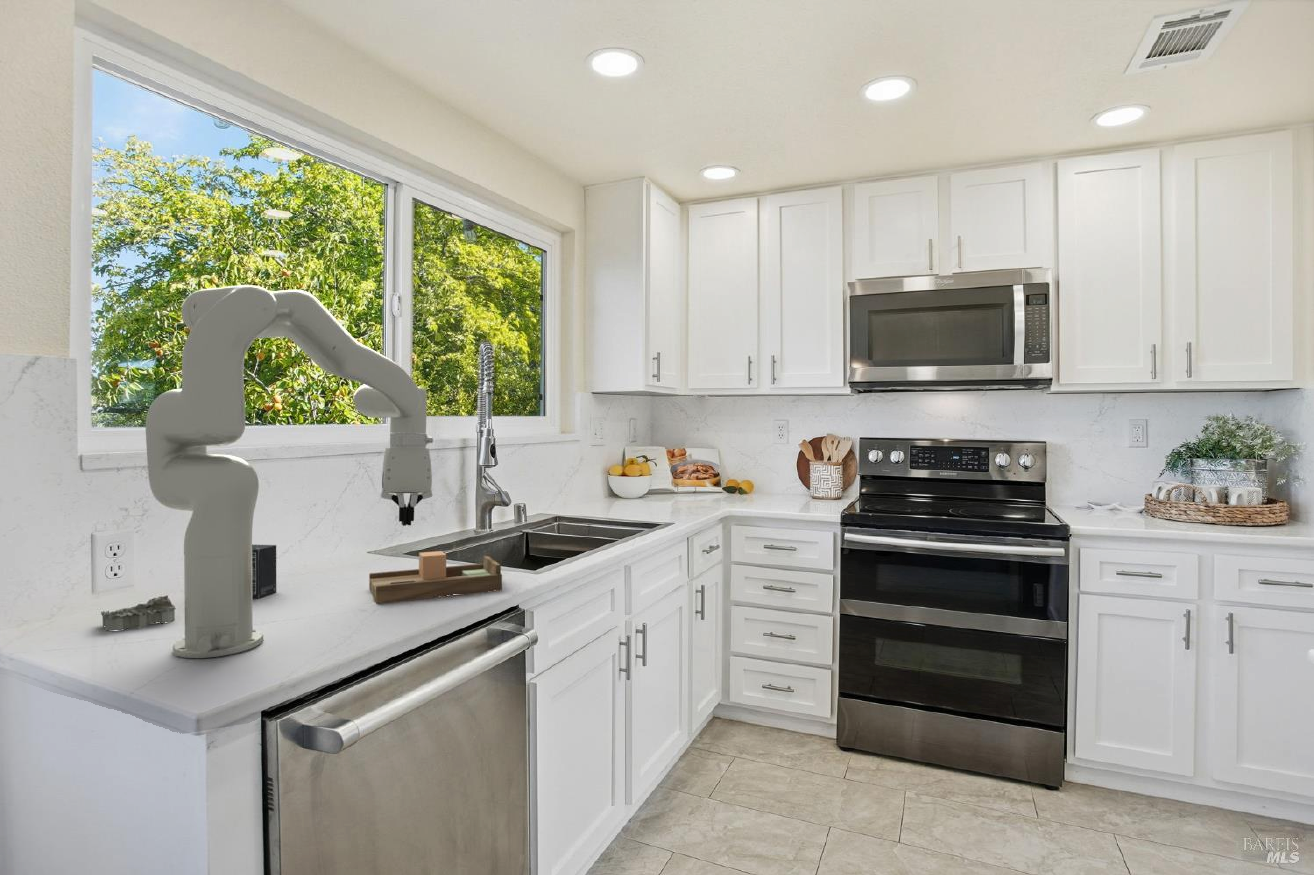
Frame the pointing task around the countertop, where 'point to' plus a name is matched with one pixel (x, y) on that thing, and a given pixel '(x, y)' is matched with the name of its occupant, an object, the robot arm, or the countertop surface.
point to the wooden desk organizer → (436, 582)
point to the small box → (263, 570)
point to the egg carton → (140, 614)
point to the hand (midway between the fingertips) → (406, 524)
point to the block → (432, 565)
